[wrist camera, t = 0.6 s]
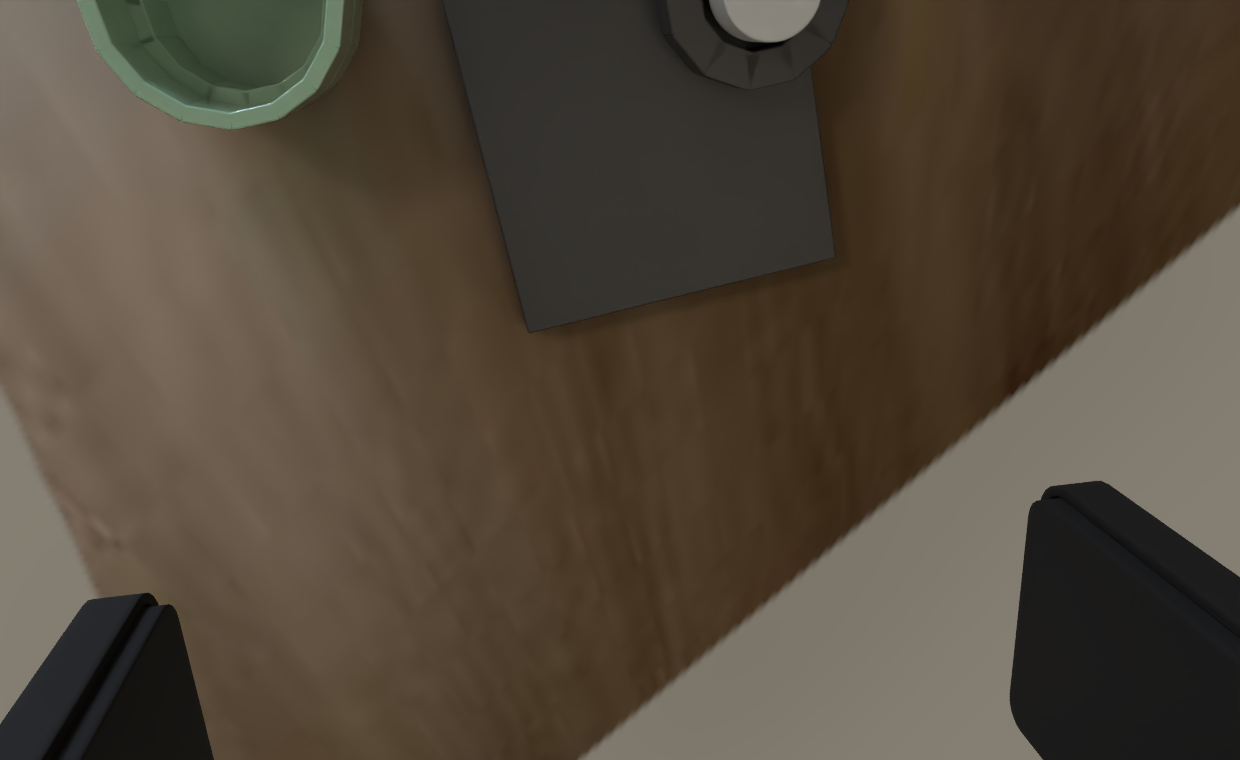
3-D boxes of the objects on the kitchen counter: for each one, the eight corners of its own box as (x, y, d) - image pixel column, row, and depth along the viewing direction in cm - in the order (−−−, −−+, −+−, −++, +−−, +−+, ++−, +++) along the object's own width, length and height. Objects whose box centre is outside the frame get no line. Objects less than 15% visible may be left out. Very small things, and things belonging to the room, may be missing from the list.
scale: (432, -39, 32) (428, -45, 29) (806, -122, 33) (838, -136, 30) (526, 324, 37) (530, 349, 34) (851, 244, 37) (881, 262, 35)
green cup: (105, -90, 30) (30, -114, 25) (324, -137, 30) (295, -170, 25) (188, 133, 33) (135, 152, 28) (389, 86, 33) (374, 97, 28)
